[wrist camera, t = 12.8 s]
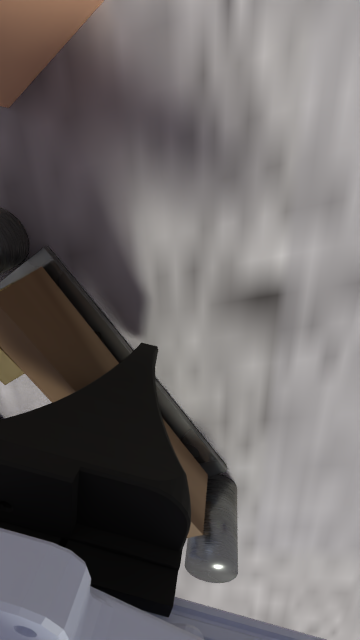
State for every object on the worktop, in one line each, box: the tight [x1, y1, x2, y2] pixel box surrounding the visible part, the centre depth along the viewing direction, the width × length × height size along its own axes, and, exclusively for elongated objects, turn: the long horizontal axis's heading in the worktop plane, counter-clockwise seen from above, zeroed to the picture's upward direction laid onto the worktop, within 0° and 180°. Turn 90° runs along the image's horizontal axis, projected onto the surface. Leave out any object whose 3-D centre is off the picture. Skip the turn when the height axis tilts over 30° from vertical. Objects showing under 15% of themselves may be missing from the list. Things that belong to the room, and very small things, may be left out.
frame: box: [0, 208, 238, 583], centre depth 14 cm, size 4×19×4 cm, turn 34°
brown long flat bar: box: [0, 267, 208, 538], centre depth 14 cm, size 1×13×3 cm, turn 32°
